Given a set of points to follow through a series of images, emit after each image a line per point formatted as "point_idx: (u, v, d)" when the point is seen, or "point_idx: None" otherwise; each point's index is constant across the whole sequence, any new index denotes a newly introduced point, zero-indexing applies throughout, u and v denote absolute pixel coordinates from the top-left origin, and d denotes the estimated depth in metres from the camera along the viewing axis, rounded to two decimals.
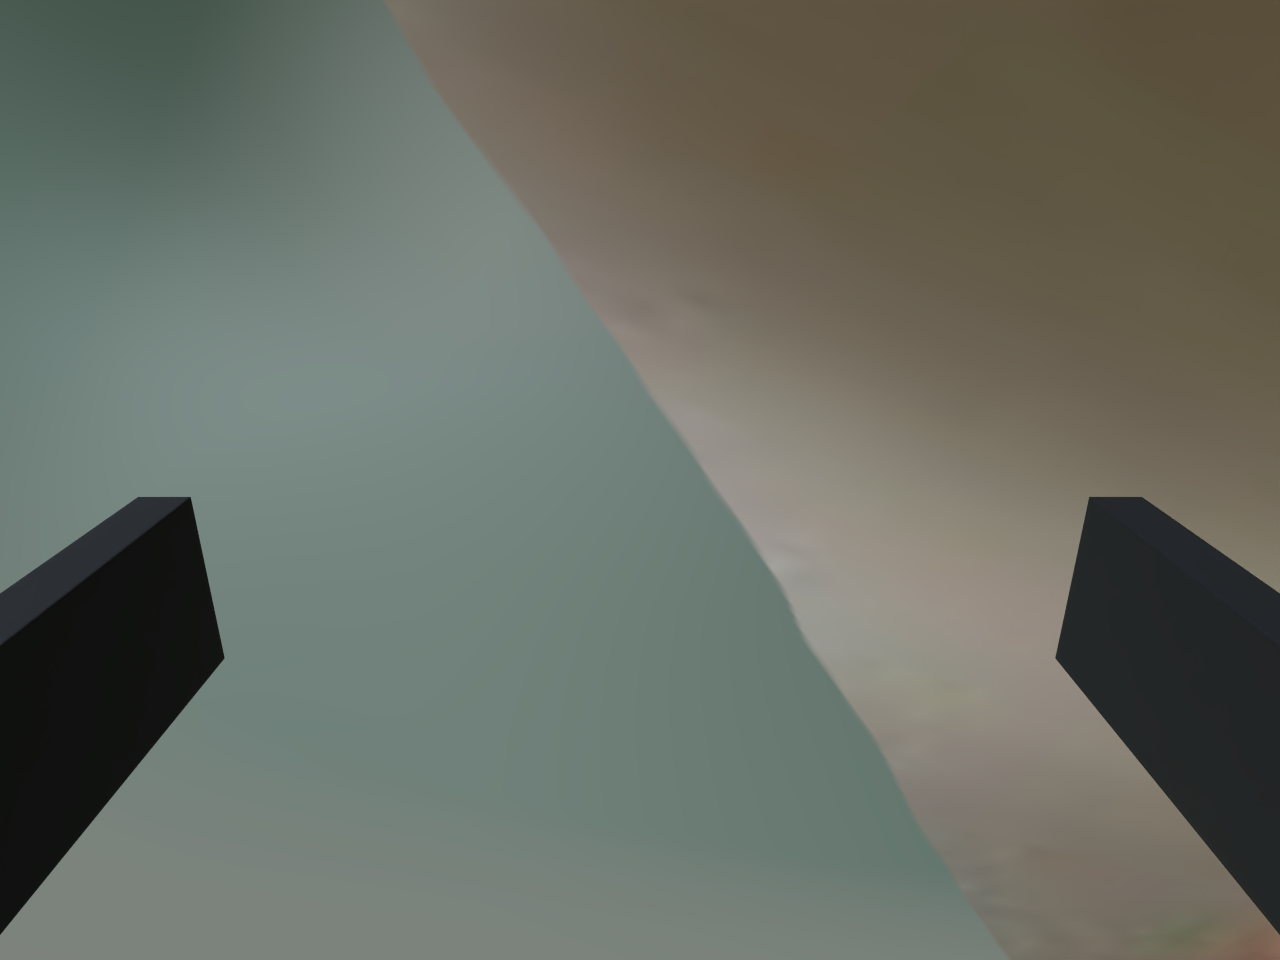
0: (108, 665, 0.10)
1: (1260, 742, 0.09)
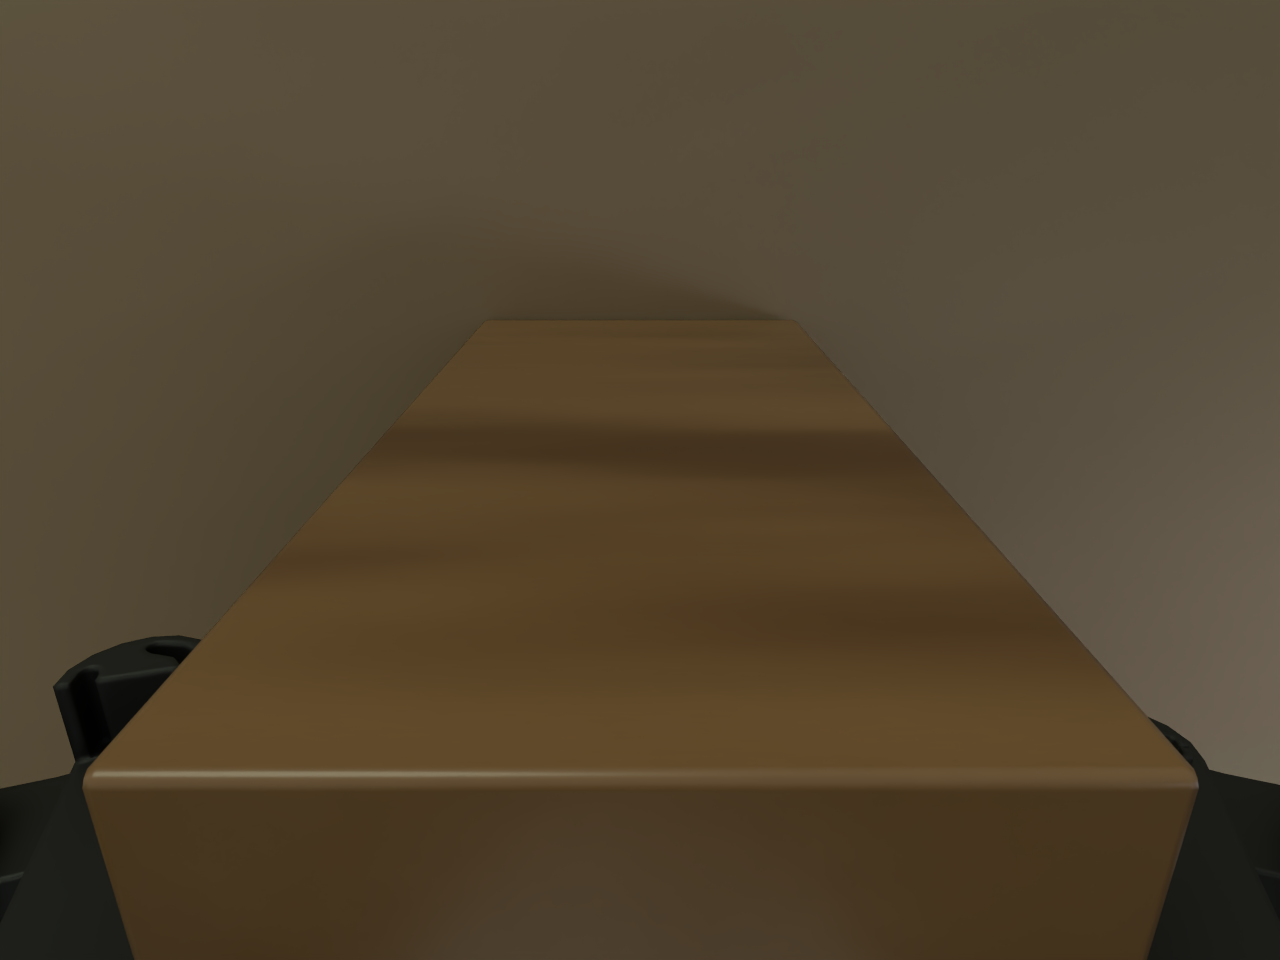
0: None
1: None
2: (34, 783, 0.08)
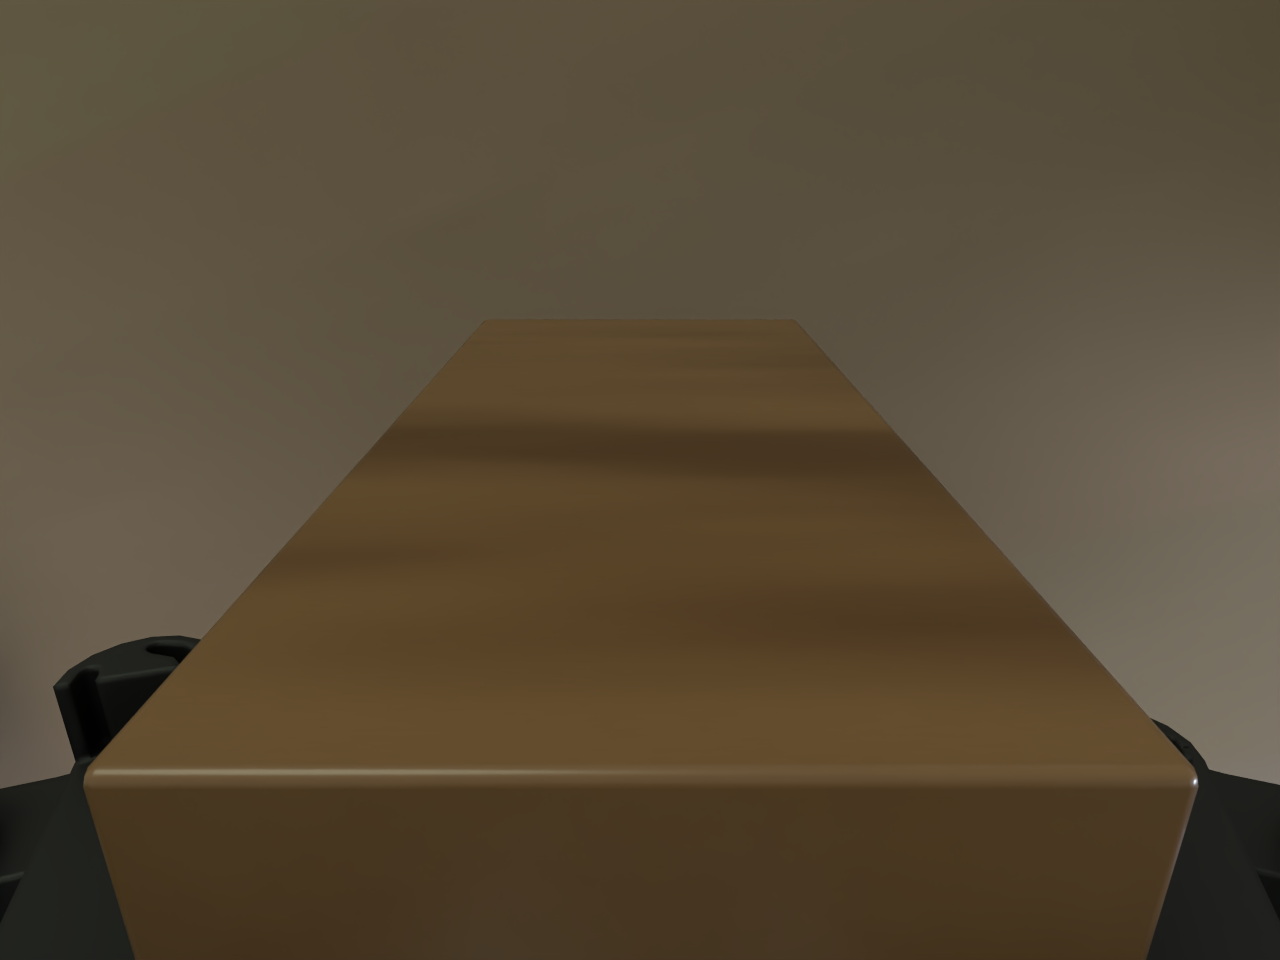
0: None
1: None
2: (33, 783, 0.08)
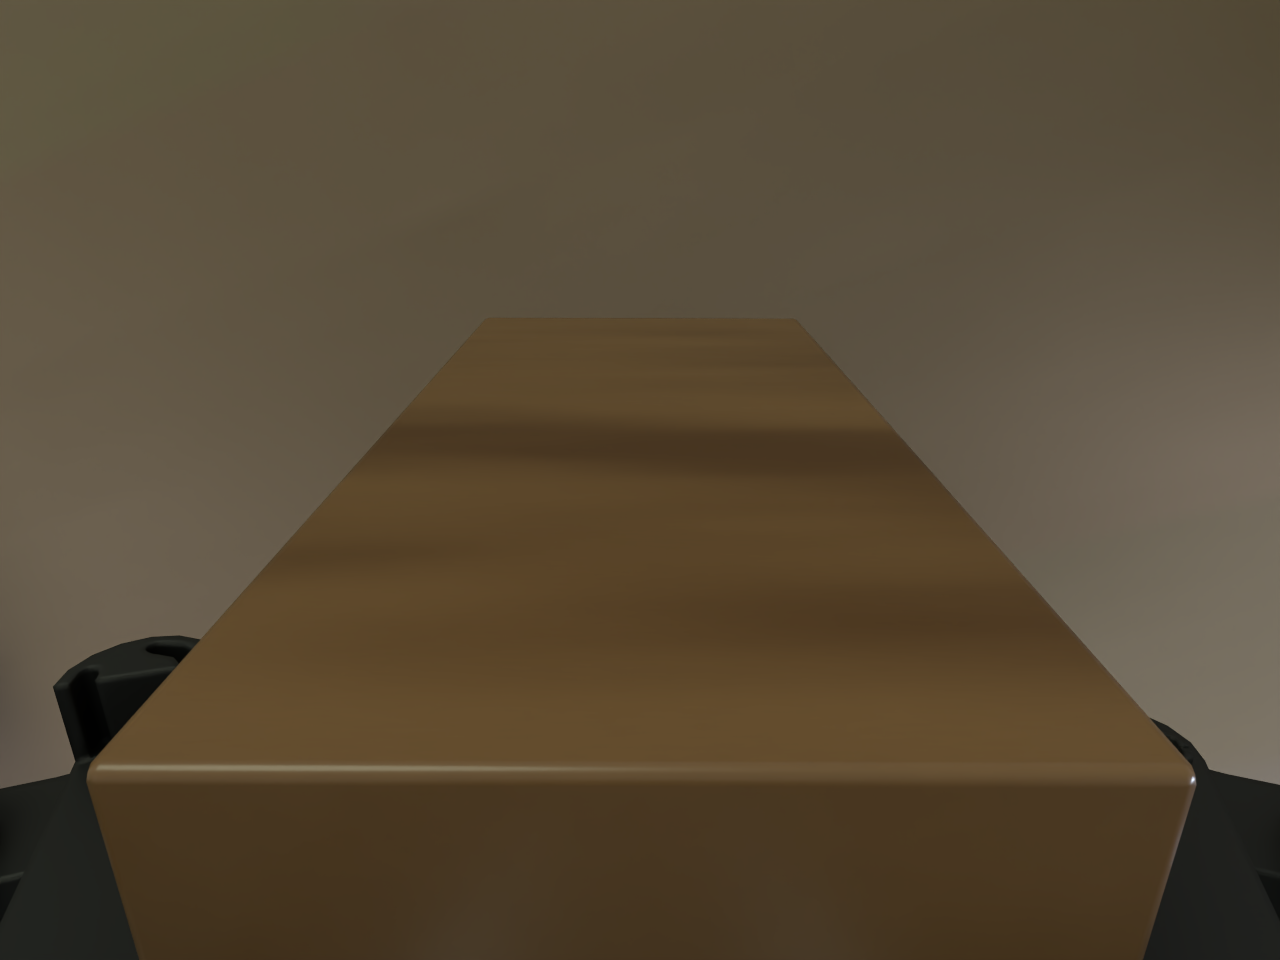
0: None
1: None
2: (33, 783, 0.08)
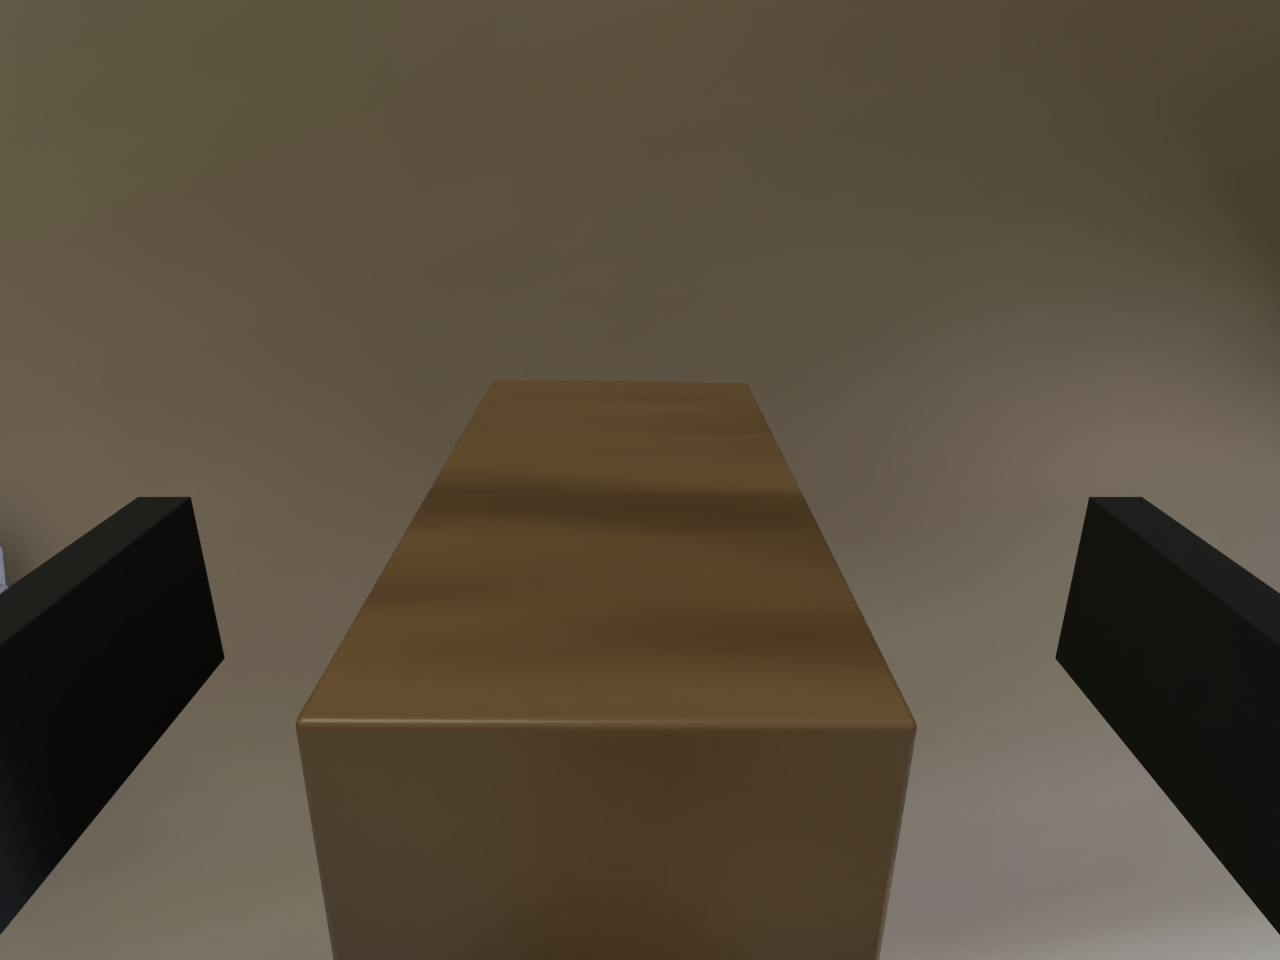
0: (108, 665, 0.10)
1: (1260, 742, 0.09)
2: None
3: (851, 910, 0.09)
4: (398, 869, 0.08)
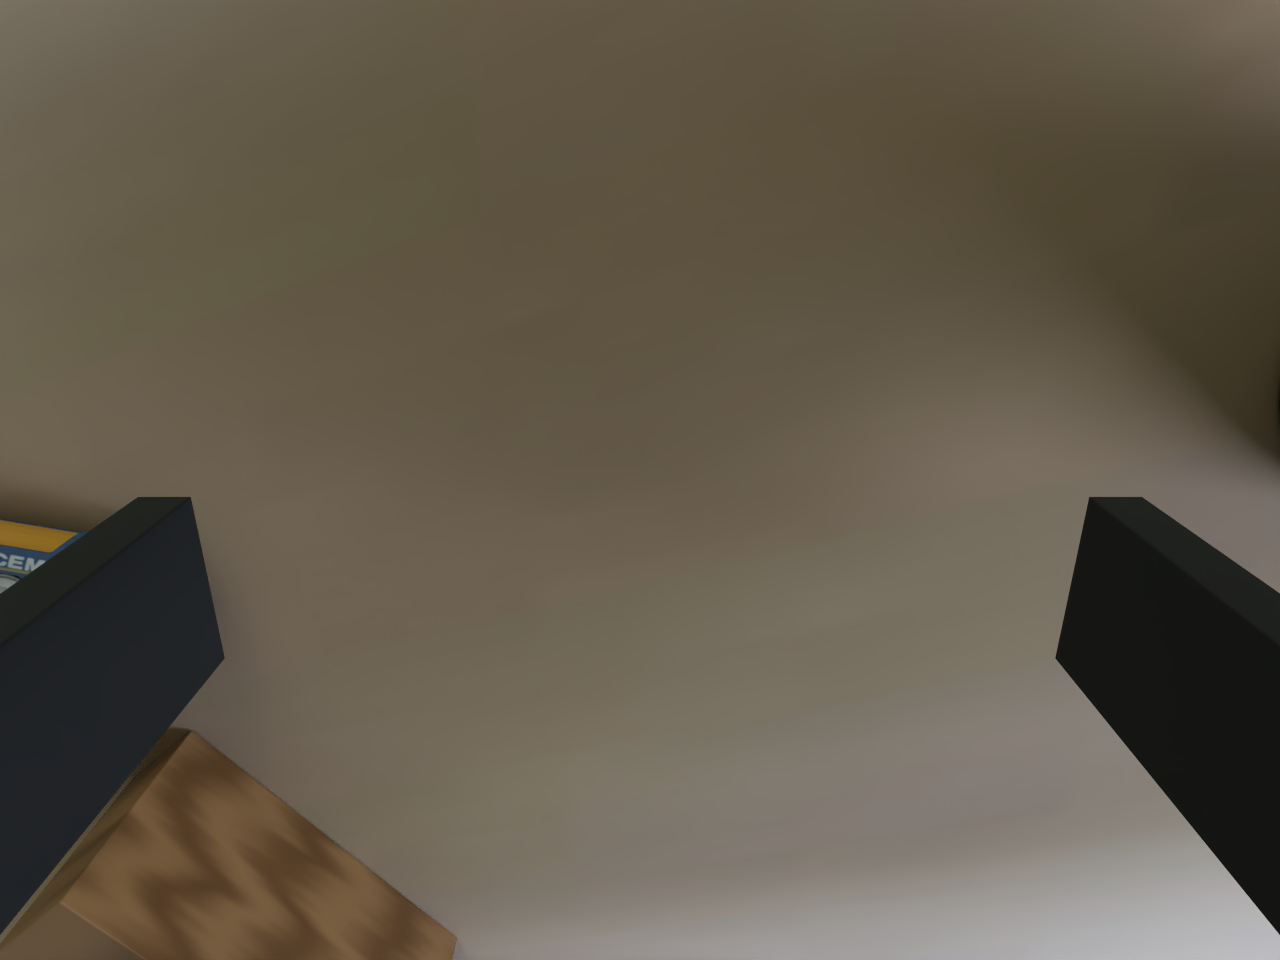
0: (108, 665, 0.10)
1: (1260, 742, 0.09)
2: None
3: (95, 934, 0.39)
4: None
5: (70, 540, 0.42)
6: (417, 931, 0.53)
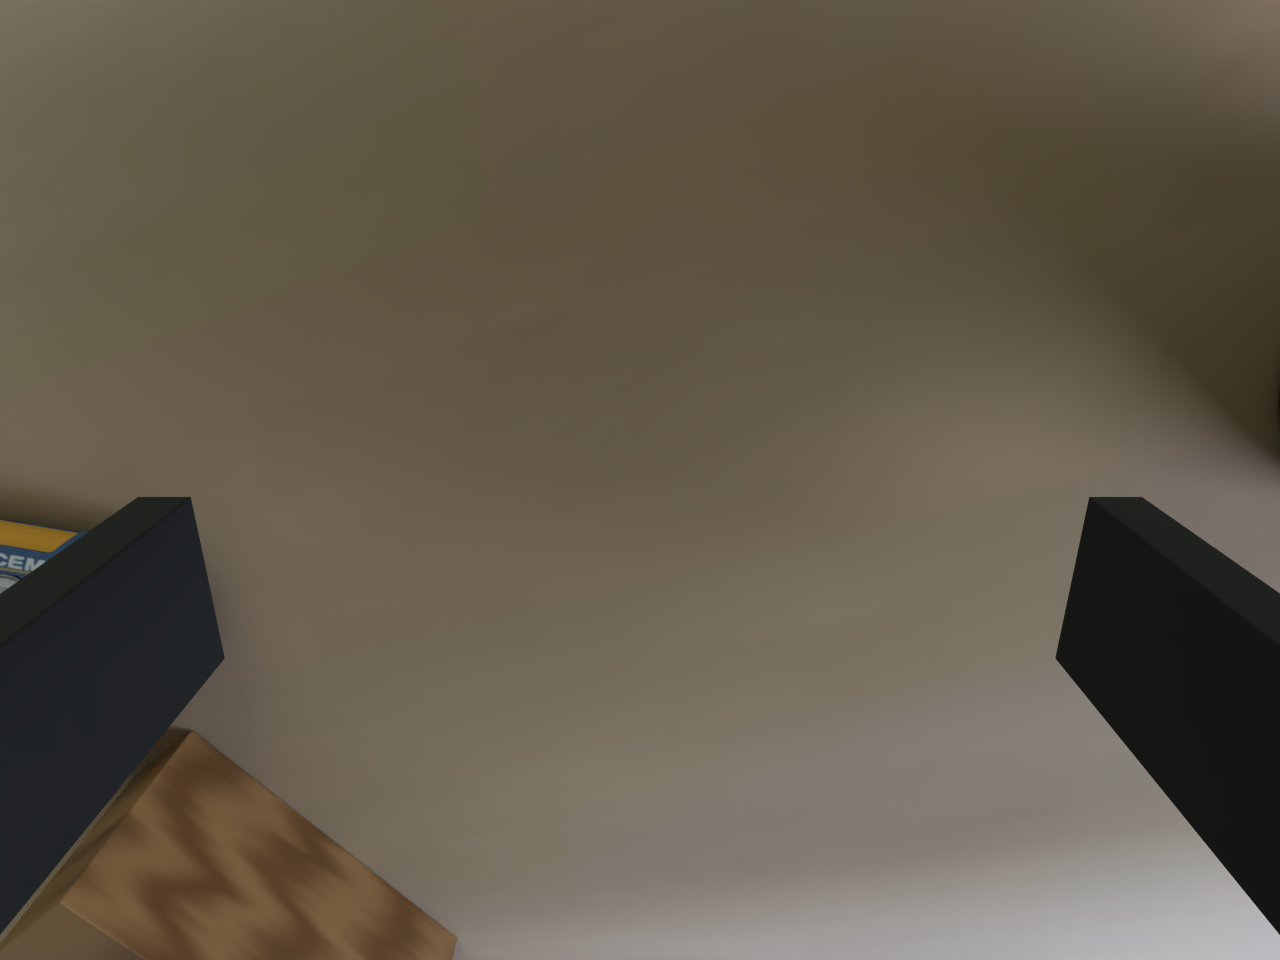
0: (108, 665, 0.10)
1: (1260, 742, 0.09)
2: None
3: (95, 934, 0.39)
4: None
5: (70, 540, 0.42)
6: (417, 931, 0.53)
